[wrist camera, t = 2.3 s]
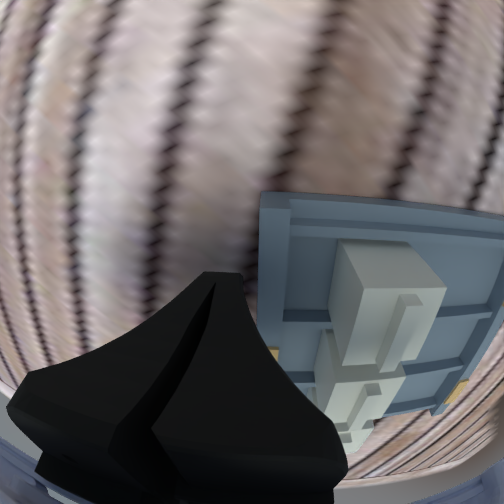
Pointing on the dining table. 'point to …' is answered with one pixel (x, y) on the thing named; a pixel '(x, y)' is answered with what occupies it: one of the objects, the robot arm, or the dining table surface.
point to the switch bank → (392, 229)
